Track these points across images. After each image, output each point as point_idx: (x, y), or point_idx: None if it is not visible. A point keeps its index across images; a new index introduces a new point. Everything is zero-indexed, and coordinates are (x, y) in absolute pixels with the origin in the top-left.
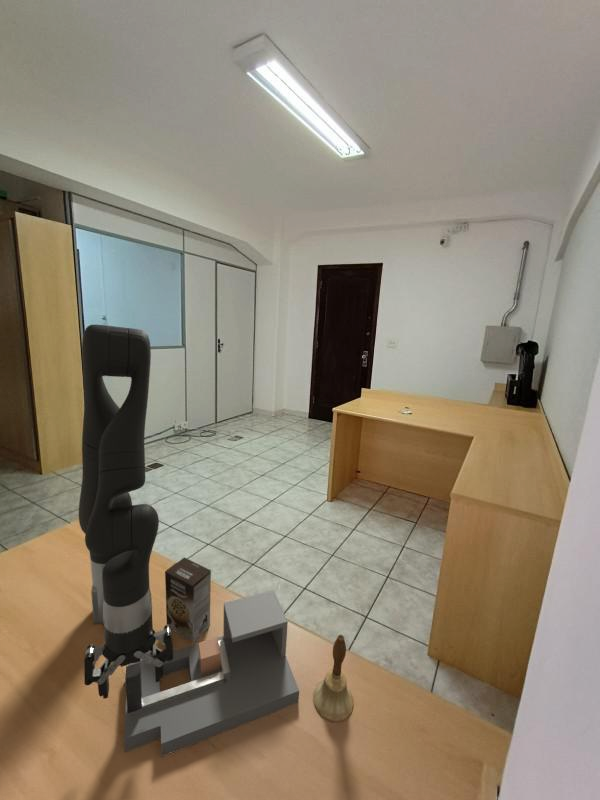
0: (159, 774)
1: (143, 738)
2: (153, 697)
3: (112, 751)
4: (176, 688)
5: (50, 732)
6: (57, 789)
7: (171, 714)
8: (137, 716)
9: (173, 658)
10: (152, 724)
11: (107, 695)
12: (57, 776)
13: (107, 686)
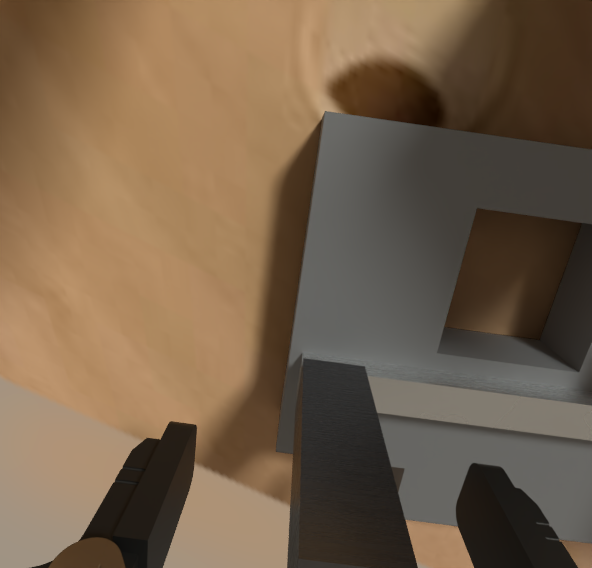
0: None
1: None
2: (409, 394)
3: (244, 392)
4: (514, 403)
5: (31, 232)
6: (100, 414)
7: (452, 452)
8: None
9: (560, 203)
10: None
11: (184, 501)
12: (92, 383)
13: (170, 530)
